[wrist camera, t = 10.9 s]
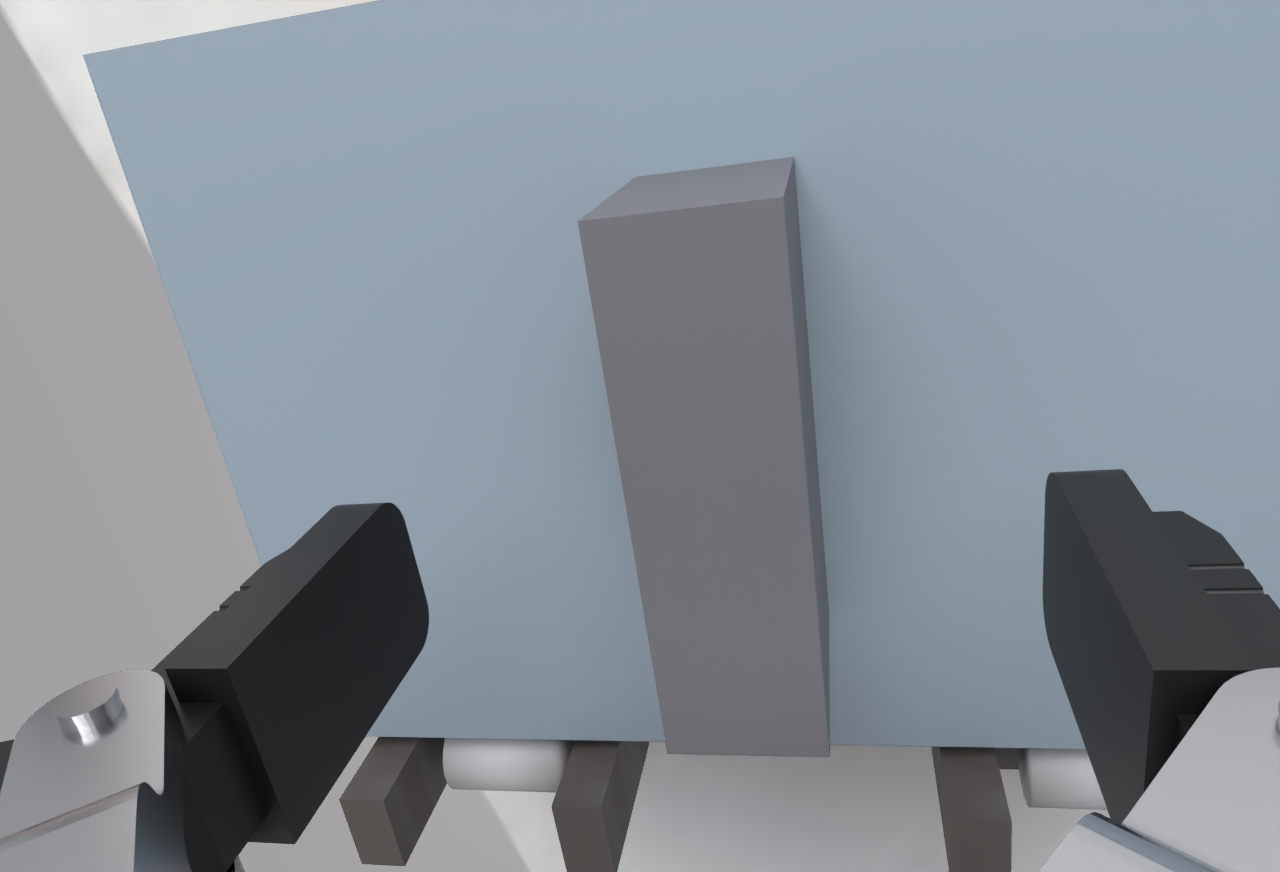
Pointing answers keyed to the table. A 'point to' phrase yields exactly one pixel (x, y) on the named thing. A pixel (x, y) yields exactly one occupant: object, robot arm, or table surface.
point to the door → (725, 339)
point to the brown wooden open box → (605, 794)
